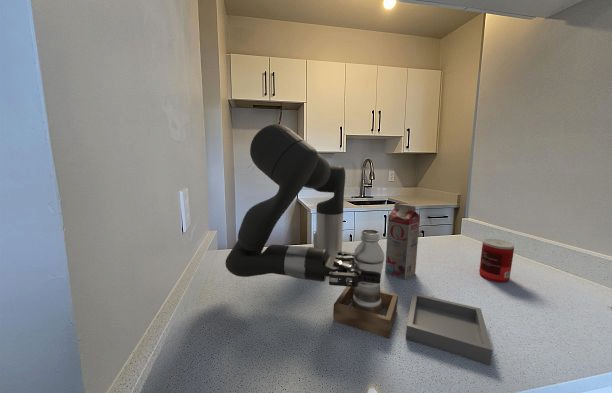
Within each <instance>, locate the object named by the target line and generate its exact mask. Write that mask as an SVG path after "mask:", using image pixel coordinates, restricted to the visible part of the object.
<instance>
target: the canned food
mask: <svg viewBox="0 0 612 393" xmlns="http://www.w3.org/2000/svg"><path fill="white" fill-rule="evenodd" d="M514 249H515V245H514V243H512V242H510V241H506V240H504V239H503V240H502V239H497V238H486V239H482V244H481V254H480V263H479V275H480V276H481V277H482V278H483V279H485V280H488V281H490V282H494V283H507V282H508V281H509V280H510V278H511V272H512V266H513V259H514V253H515V250H514Z"/></svg>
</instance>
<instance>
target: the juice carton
mask: <svg viewBox="0 0 612 393" xmlns="http://www.w3.org/2000/svg"><path fill="white" fill-rule="evenodd" d="M420 220H421V215H420V214H418V212H417V211H416V206H415V205H410V204H402V203H397V202H395V203H394V206H393V209H392V210H391V211H390V212H389V214H388V220H387V233H386V251H385V266H384V273H386V274H389V275H391V276H394V277H396V278H399V279H400V280H401V279H402V280H404V281H406V280H407V279H409V278H410V277H412V276H414V275H415V274H416V270H417V268H416V266H417V255H418V243H419V231H420Z"/></svg>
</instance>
